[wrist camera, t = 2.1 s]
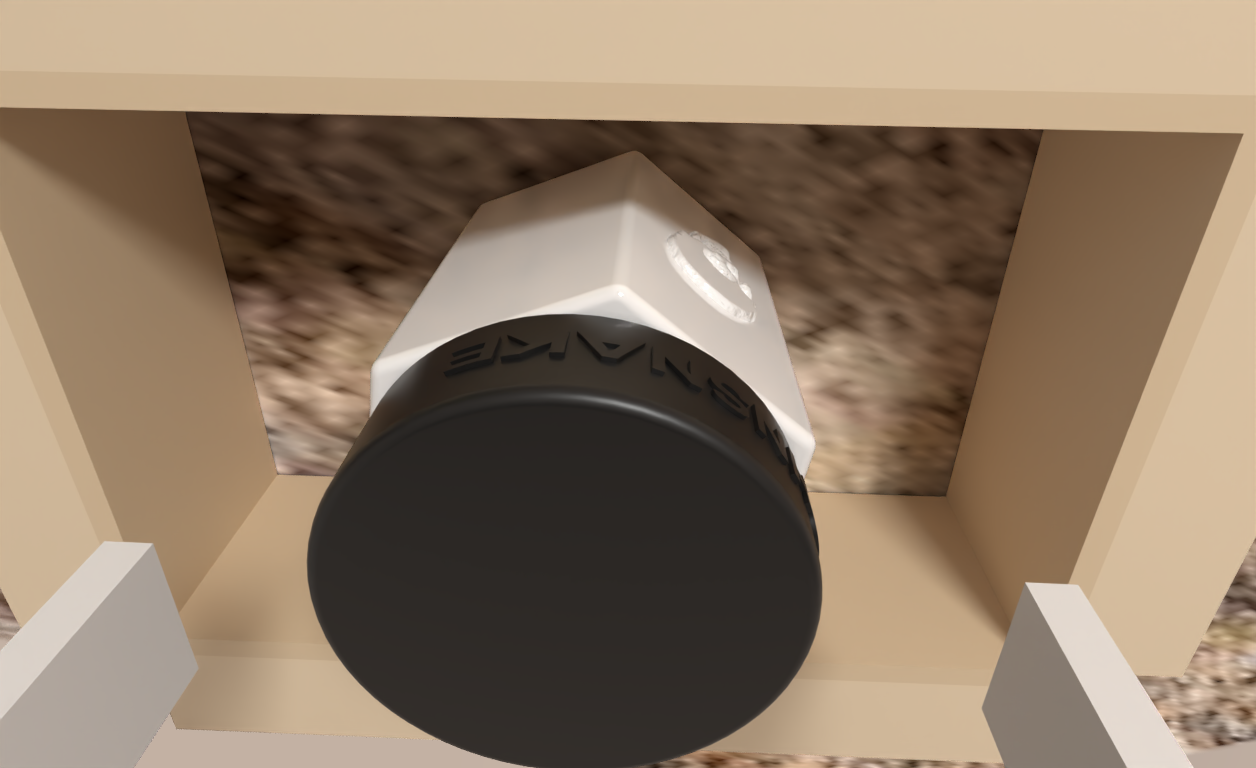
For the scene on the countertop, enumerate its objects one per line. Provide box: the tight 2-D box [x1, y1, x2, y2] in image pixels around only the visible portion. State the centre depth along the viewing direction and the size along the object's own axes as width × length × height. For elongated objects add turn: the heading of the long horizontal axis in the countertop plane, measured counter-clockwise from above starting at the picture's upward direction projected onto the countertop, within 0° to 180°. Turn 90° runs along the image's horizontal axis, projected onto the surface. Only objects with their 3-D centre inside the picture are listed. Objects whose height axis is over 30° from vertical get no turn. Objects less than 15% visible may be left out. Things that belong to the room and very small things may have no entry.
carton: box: [0, 0, 1256, 763], centre depth 20 cm, size 29×20×7 cm
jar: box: [307, 151, 822, 768], centre depth 17 cm, size 9×8×12 cm
